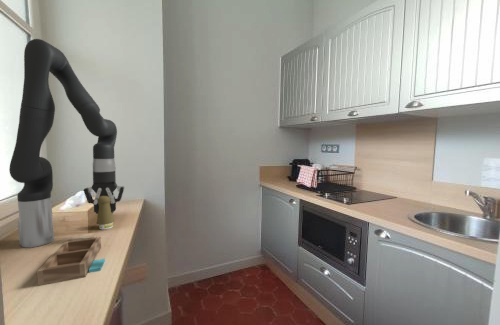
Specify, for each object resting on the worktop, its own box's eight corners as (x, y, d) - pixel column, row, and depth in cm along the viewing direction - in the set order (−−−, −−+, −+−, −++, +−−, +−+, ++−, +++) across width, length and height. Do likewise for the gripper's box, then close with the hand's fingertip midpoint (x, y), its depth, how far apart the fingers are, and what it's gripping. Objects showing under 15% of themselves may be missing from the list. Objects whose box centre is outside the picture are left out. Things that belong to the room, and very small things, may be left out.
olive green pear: (105, 225, 88) (105, 197, 87) (92, 223, 89) (91, 196, 88) (117, 220, 93) (117, 193, 93) (105, 219, 95) (104, 192, 94)
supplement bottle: (96, 230, 101) (95, 208, 100) (103, 225, 107) (102, 205, 106) (109, 229, 102) (108, 208, 101) (115, 225, 107) (114, 205, 106)
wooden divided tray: (65, 252, 80) (65, 241, 80) (111, 246, 85) (111, 235, 85) (38, 285, 61) (37, 271, 61) (98, 274, 67) (98, 261, 66)
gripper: (79, 171, 83) (80, 217, 85) (123, 170, 89) (124, 213, 90) (85, 169, 90) (86, 211, 92) (126, 168, 96) (126, 208, 97)
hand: (105, 212), depth 91 cm, fingers closed on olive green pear, 4 cm apart
